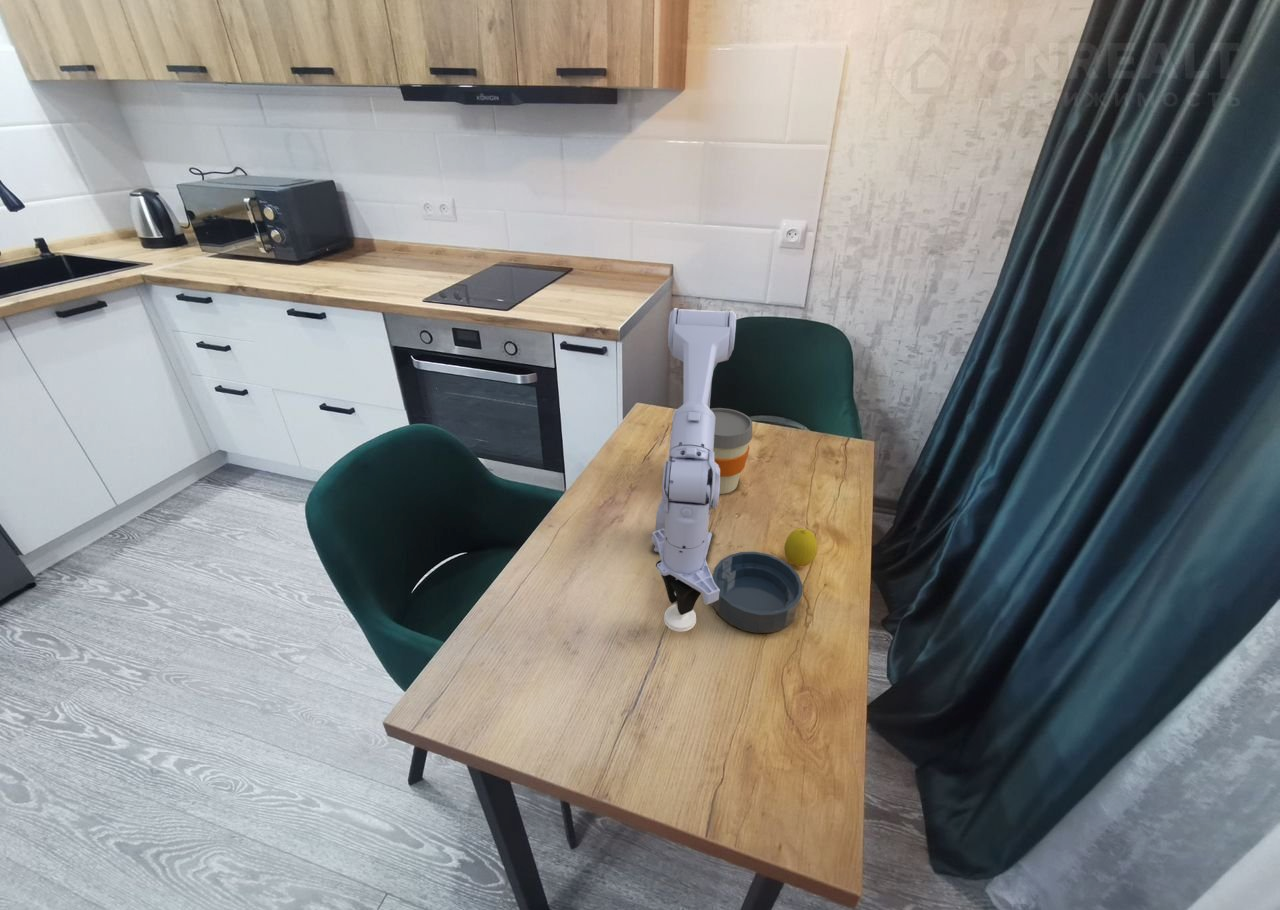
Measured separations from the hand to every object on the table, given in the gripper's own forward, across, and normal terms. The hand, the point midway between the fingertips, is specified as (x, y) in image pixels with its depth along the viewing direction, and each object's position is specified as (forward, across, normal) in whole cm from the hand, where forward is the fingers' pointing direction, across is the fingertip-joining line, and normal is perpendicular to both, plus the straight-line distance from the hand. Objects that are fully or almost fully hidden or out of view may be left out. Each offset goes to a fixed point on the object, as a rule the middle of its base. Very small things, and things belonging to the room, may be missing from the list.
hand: (680, 605), depth 84 cm
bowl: (+6, 0, +14) cm, 16 cm away
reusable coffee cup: (+6, -31, +30) cm, 43 cm away
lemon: (+6, -3, +27) cm, 28 cm away
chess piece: (+3, 0, 0) cm, 3 cm away
